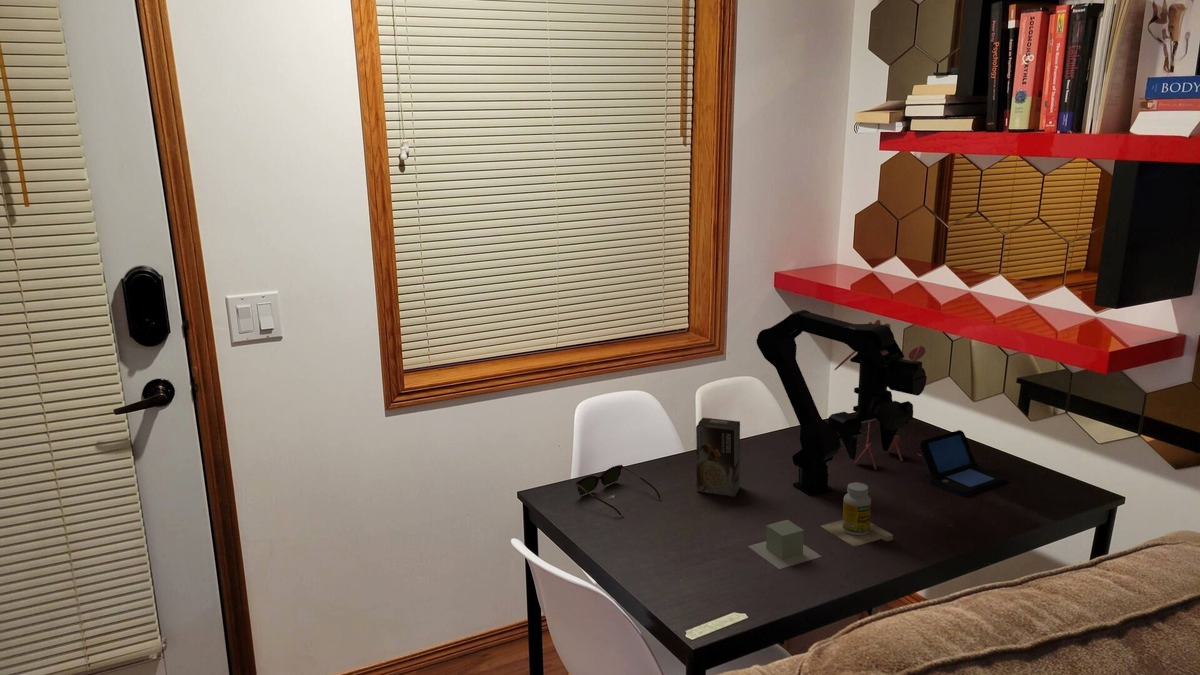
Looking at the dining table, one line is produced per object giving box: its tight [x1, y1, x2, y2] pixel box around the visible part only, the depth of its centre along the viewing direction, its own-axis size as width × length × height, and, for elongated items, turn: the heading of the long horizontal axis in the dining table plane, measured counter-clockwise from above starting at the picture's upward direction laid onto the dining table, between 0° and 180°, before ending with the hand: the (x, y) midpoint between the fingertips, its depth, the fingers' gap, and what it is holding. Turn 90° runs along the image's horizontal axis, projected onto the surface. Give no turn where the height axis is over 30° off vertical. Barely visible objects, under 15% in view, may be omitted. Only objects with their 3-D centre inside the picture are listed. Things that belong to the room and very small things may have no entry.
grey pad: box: [747, 540, 823, 570], centre depth 164 cm, size 10×10×1 cm
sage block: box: [765, 519, 805, 560], centre depth 163 cm, size 5×5×5 cm
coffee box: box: [695, 417, 741, 497], centre depth 193 cm, size 9×6×16 cm
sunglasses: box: [575, 464, 661, 516], centre depth 190 cm, size 14×15×5 cm
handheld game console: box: [919, 429, 1007, 497], centre depth 195 cm, size 16×13×9 cm
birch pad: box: [820, 519, 894, 548], centre depth 172 cm, size 10×10×1 cm
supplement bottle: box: [842, 482, 872, 536], centre depth 170 cm, size 5×5×10 cm
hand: (869, 454), depth 181 cm, fingers open, 9 cm apart
